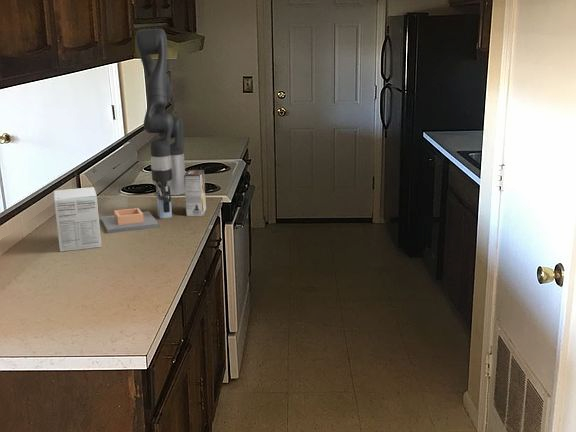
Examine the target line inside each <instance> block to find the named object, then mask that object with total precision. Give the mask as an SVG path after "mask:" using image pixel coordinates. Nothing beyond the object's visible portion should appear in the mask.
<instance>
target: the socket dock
mask: <svg viewBox="0 0 576 432" xmlns="http://www.w3.org/2000/svg"><path fill="white" fill-rule="evenodd" d="M113 214H114V215H113ZM113 214H112V215H105V216H104V215H103V216H100V220H101V222H102V225H103V227H104V229H105V231H106V233H107V234H112V233H121V232H128V231H137V230H144V229H152V228H153V229H154V228H158V227H160V225H159V222H158V221H157V219H156V218H155V217H154V216H153V214H152V213H151V212H150V211H149V210H147V211H141V209H140V208H139V207H134V208H133V207H132V208H123V209H116V210H115V209H114V210H113Z"/></svg>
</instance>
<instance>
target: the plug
mask: <svg viewBox="0 0 576 432" xmlns="http://www.w3.org/2000/svg"><path fill="white" fill-rule="evenodd" d="M165 199H168V198H167V197H165ZM169 205H170V212H167V213H165V212H164V209H163V200H162V198H161V197H160V195H157V194H156V207H157V217H158V218H159V219H166V218H167V219H168V218H173V212H172V201H171V202H169Z"/></svg>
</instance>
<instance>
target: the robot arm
mask: <svg viewBox="0 0 576 432" xmlns="http://www.w3.org/2000/svg"><path fill="white" fill-rule="evenodd" d="M135 43H136V48H137V50H138V51H137V52H138V55H139V57H140V60H141V63H142V66H143V67H142V68H143V71H144V74H145V75H144V76H145V79H146V101H147V103H146V104H147V105H146V111H145V116H144V120H143V128H144V130H145V132H147V133H149V134H157V135H158V138H155V139H152V140H151V141H150V143H149V145H150V170H151V180H152V181H153V182H155V188H156V192H155V193H156V195H160V197H161V198H162V200H163V209H164V212H165V213H167V212H170V205H169V202H171V203H172V197H171V196H178V195H184V194H185V180H184V175H185V174H186V170H185V169H186V168H185V154H184V153H185V152H184V151H185V149H184V121H183V119H182V116H180V115H171V114H170V113H166V112H165V113H164V111H165V109H166V107H167V106H168V104H169V102H170V100H171V98H172V97H173V96H172V95H173V88H172V87H173V85H172V82H171V78H170V76H169V75H168V74H167V68H168V67H167V64H168V39H167V34H166V31H165V30H164V29H163V28H147V29H146V28H144V29H139V30H137V31H136V33H135ZM151 55H157V56H158V57H157V62H155V60H153V58H152V56H151ZM171 139H174V141H173V142H171ZM165 197H167V198H168V199H165Z"/></svg>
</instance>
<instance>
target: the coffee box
mask: <svg viewBox="0 0 576 432" xmlns="http://www.w3.org/2000/svg"><path fill="white" fill-rule="evenodd" d="M184 180H185V193H184V194H185V213H186V217H198V216H199V217H200V216H201V217H202V216H204V215H205V212H206V210H207V203H206V182H205V169H187V172H186V171H185V175H184Z"/></svg>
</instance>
